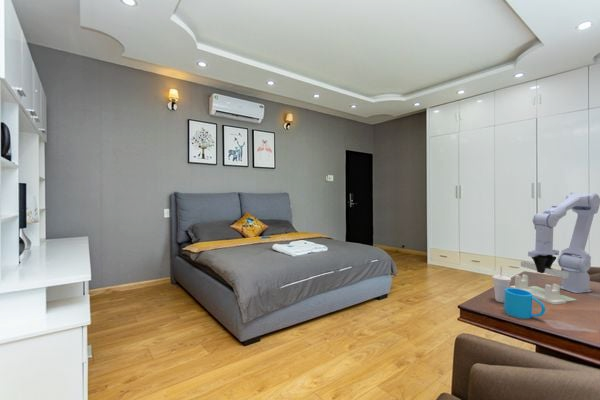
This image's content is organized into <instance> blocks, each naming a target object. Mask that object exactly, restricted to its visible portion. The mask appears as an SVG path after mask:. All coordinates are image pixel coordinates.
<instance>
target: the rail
mask: <svg viewBox="0 0 600 400" xmlns="http://www.w3.org/2000/svg"><path fill="white" fill-rule="evenodd" d="M520 267H521V268H526V269H529V270H532V271H536V272H537V268H536V265H535V263H533V262H530V261H525V260H524V261H520ZM542 274H547V275H551V276H554V277H558V278H561V279H562V278H568V275H569V272H565V271H563V270H562V269H556V268H554V267H551V268H549V267H546V266H545V268H544V272H543V273H542Z"/></svg>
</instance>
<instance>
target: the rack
mask: <svg viewBox="0 0 600 400" xmlns="http://www.w3.org/2000/svg"><path fill="white" fill-rule="evenodd" d="M521 275H522V276H521ZM521 275H518V274H516V275H515V276H514V285H510V286H509V288H516V289H522V290H525V291H528V292H530V293H532V294H533V296H532V297H534V298H536V299H538V300H539V301H543V302H546V303H548V304H550V305H551V304H552V305H561V304H562V305H563V304H567V302H566V301H565V300H562V299H559V295H560V294H561V293H560V291H561V288H560V286H561V285H560V284H557V283H552V285H550V284H548V283H547V284H544V289H545V294H544V293H542V292H539V291H536V290H533V289H530V288H528V287H529V275H527V274H523V273H522V274H521Z"/></svg>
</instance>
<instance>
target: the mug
mask: <svg viewBox="0 0 600 400" xmlns="http://www.w3.org/2000/svg"><path fill="white" fill-rule="evenodd" d="M532 296H533V294H532V293H530V292H528V291H525V290H522V289H516V288H510V287H509V288H507V289H505V301H504V306H503V307H504V308H503V309H504V310H503V311H505V312H504V313H505V314H506V313H507V315H508V314H509V316H511V317H514V318H518V319H531V318H537V317H542V316H543V315H544V314H545V313H546V307H545V304H544V303H543V302H542V301H541V300H540V299H537V298H535V297H532ZM533 301H534V302H537V303H538V304H539V305H540V308H541V311H540V312H539V313H536V314H535V313H534V314H533Z"/></svg>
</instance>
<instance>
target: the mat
mask: <svg viewBox="0 0 600 400" xmlns="http://www.w3.org/2000/svg"><path fill="white" fill-rule="evenodd" d="M528 288H530V289H533V290H536V291H539V292H542V293H544V294H545V288H542V287H539V286H537V285H532V286H528ZM559 299H562V300H565V301H566V303H568V302H575V301H576V302H577V301H578V299H576V298H572V297H571V296H567V295H565V294H561V293H560V295H559Z"/></svg>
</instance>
